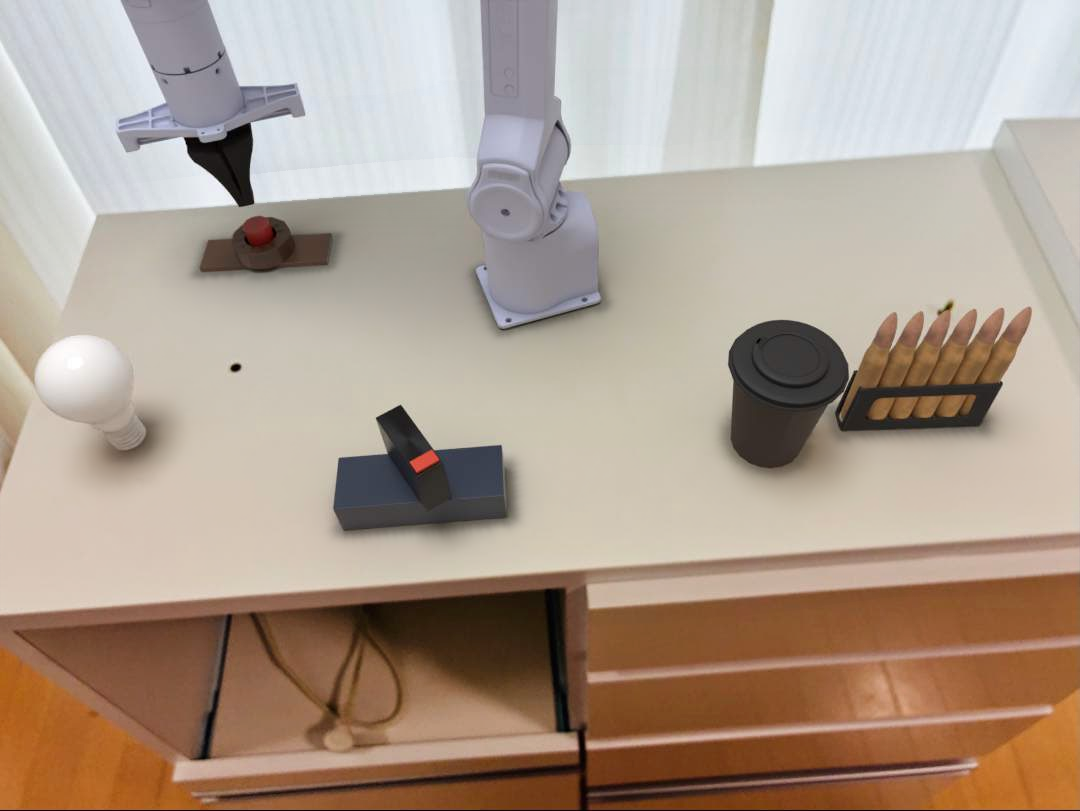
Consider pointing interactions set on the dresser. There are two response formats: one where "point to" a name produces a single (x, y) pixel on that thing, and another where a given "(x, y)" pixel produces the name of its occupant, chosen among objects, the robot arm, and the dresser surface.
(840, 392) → the coffee cup
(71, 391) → the lightbulb
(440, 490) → the black block red marker
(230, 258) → the block
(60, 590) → the dresser surface
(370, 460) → the switch base
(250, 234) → the release button
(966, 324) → the ammunition clip
